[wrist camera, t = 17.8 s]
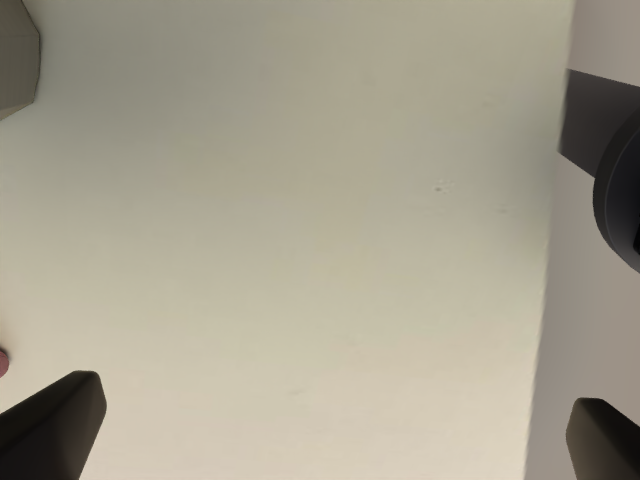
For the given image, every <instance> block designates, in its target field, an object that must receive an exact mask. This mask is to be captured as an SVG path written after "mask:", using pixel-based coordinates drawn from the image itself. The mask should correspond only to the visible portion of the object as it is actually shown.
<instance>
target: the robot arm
mask: <svg viewBox="0 0 640 480" xmlns="http://www.w3.org/2000/svg"><path fill="white" fill-rule="evenodd" d="M639 217H640V214H639ZM633 249H634V251H635V252H636V253H638V254H639V255H640V223H639V227H638V230H637V233H636V237H635V240H634V243H633ZM106 408H107V403H106V399H105V395H104V391H103V388H102V384H101V380H100V377H99V375H98V374H97V373H96V372H94V371H81V370H78V371H73V372H72V373H70V374H68V375H66V376H65V377H63V378H61V379H59V380H58V381H56V382H54V383H53V384H51V385H49V386H48V387H46V388H44V389H42V390H41V391H39V392H37V393H36V394H34V395H32V396H30V397H29V398H27V399H25V400H24V401H22V402H20V403H18V404H17V405H15V406H13V407H12V408H10V409H8V410H6V411H5V412H3V413H1V414H0V480H79V478H80V475H81V473H82V470H83V468H84V465H85V463H86V461H87V458H88V456H89V453H90V451H91V448H92V446H93V444H94V441H95V439H96V436H97V434H98V431H99V429H100V427H101V424H102V422H103V419H104V417H105V414H106ZM566 442H567V446H568V450H569V453H570V457H571V460H572V464H573V467H574V471H575V474H576V478H577V480H640V427H639V426H638V425H637V424H635V423H634V422H633V421H631V420H630V419H629V418H627V417H626V416H625V415H623V414H622V413H620V412H619V411H618V410H617V409H615V408H614V407H613V406H611V405H610V404H609V403H607V402H606V401H604V400H602V399H599V398H578V399H577V400H576V401H575V403H574V405H573V409H572V412H571V415H570V419H569V423H568V426H567V429H566Z"/></svg>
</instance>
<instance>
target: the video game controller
mask: <svg viewBox="0 0 640 480" xmlns="http://www.w3.org/2000/svg"><path fill="white" fill-rule="evenodd" d="M8 366H9V361H8V358H7V357H6V355H5V354H4V353H2V352H1V351H0V378H1V377H2V376H3V375H4V374H5V373H6V372H7V370H8Z"/></svg>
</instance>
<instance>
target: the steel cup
mask: <svg viewBox="0 0 640 480" xmlns="http://www.w3.org/2000/svg"><path fill="white" fill-rule="evenodd" d="M39 70H40V52H39V34H38V32H37V30H36V29H35V27H34V26H33V23H32V21H31V19H30V16H29V14H28V12H27V10H26V8H25V7H24V5H23V3H22V1H21V0H0V120H2V119H4V118H6V117H7V116H9V115H11V114H13V113H15V112H16V111H18V110H20V109H22V108H24V107H25V106H27V105H29V104H31V103H33V101H34V93H35V87H36V84H37V80H38V76H39Z"/></svg>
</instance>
